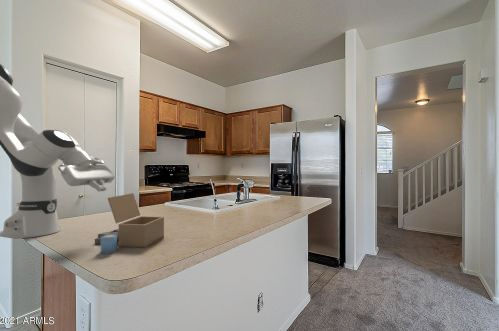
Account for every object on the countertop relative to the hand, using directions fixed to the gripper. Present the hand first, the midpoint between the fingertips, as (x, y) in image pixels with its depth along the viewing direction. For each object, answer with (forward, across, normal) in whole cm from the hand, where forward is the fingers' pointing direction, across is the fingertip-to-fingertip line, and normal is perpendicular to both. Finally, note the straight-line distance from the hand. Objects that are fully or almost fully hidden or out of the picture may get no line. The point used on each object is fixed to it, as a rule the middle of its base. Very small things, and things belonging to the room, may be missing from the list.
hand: (102, 190), depth 96 cm
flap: (+11, +2, -1) cm, 11 cm away
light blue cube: (+22, -10, +6) cm, 24 cm away
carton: (+25, +2, +3) cm, 25 cm away
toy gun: (+15, +7, +14) cm, 21 cm away
